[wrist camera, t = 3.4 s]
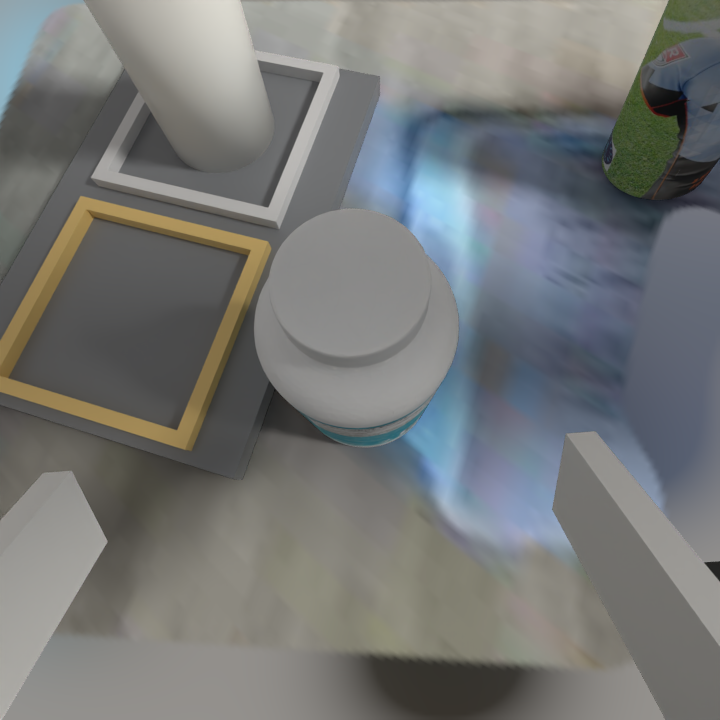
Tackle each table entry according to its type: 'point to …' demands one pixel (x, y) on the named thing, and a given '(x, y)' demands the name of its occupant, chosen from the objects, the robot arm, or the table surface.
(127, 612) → the table surface
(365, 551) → the table surface
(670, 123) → the beverage can
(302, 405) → the pill bottle
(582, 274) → the table surface
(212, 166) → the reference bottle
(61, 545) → the robot arm
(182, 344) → the grey base plate
